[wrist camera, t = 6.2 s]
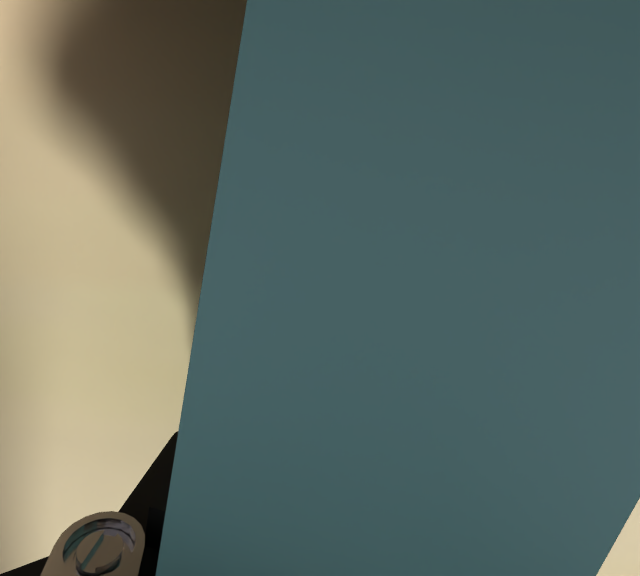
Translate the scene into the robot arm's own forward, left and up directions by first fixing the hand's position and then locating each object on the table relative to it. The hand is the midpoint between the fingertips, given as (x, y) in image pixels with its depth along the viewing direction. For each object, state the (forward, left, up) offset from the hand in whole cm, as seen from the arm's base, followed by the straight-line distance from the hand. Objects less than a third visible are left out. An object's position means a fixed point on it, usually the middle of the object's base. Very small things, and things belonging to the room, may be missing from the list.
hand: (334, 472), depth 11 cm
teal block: (+4, 0, -1) cm, 4 cm away
